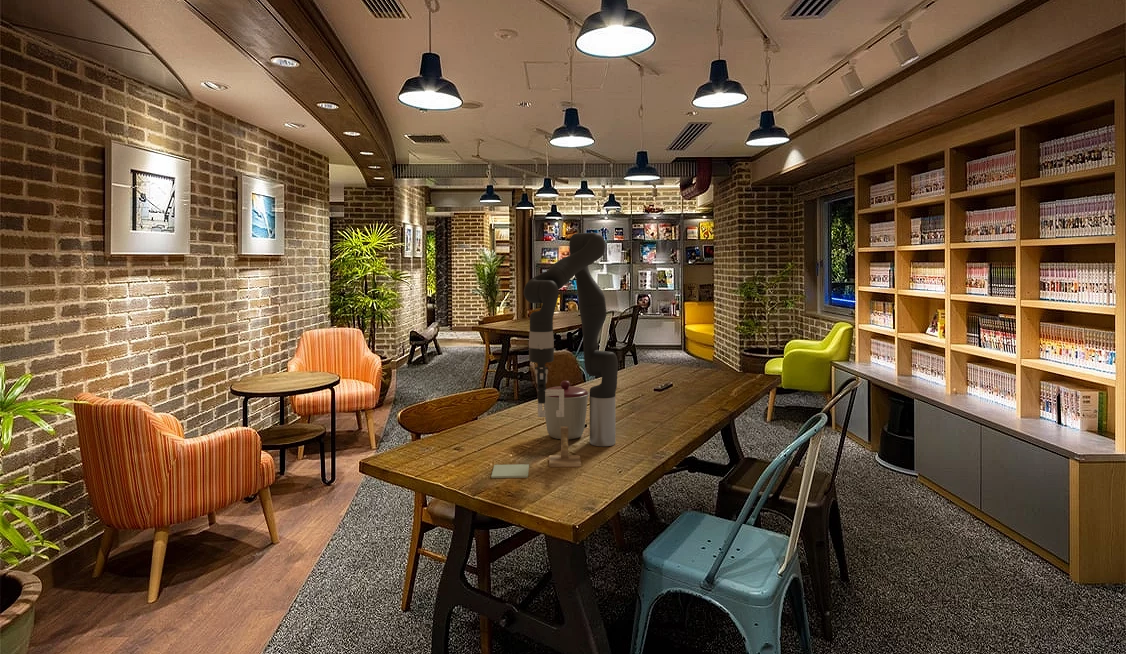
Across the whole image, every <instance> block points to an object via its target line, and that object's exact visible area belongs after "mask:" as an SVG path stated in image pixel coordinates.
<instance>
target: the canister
mask: <svg viewBox="0 0 1126 654" xmlns="http://www.w3.org/2000/svg"><path fill="white" fill-rule="evenodd" d="M547 389H564V417H556V410H559V396H545V403H544V404H543V409H544V410H545V417H544V418H545V425H546V431H547V434H548V435H549V437H551V438H553V439H555V440H561V427H568V440H575V439H578V438H580V437H582V436H583V434H584V431H585V427H586V426H585V425H586V418H587V410H588V409H587V408H588V398H589V397H590V391H588V390H587V389H586V388H583V387H579V386H574V385H573V386H572V385H571V383H570V381H569V380H562V381H561V382H560V386H557V385H556V386H552V387H549V388H547Z"/></svg>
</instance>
